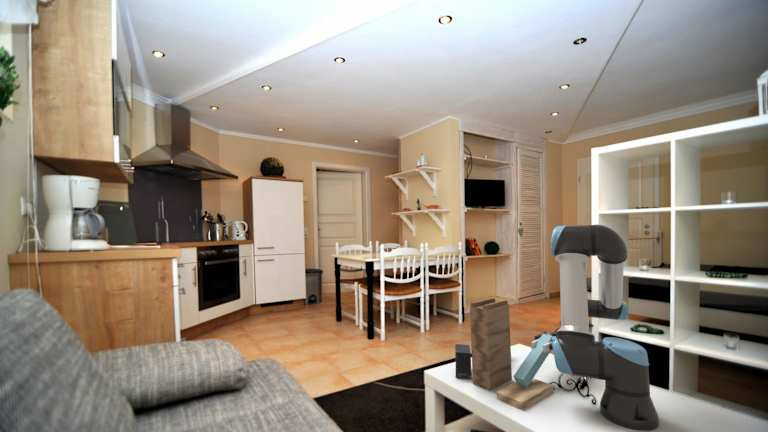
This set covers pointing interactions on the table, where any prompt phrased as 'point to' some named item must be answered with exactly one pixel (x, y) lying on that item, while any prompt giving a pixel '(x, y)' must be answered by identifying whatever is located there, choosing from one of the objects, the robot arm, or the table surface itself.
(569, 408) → the table surface
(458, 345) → the small box
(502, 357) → the stand
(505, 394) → the oak board
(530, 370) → the rod
